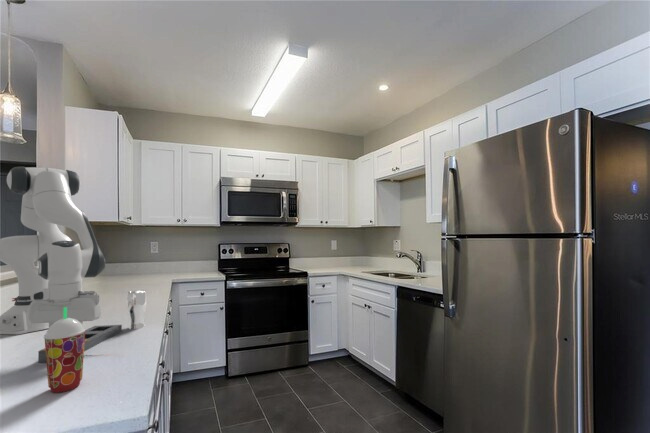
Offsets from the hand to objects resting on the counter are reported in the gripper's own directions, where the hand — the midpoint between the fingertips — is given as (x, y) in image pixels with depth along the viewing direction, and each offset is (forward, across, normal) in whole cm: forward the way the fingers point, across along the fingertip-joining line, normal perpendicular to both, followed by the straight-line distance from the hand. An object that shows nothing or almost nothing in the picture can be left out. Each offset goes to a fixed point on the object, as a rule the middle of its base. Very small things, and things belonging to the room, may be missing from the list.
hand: (65, 335), depth 109 cm
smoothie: (+7, -16, +23) cm, 29 cm away
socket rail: (+6, 0, -9) cm, 11 cm away
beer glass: (+7, -8, -28) cm, 30 cm away
